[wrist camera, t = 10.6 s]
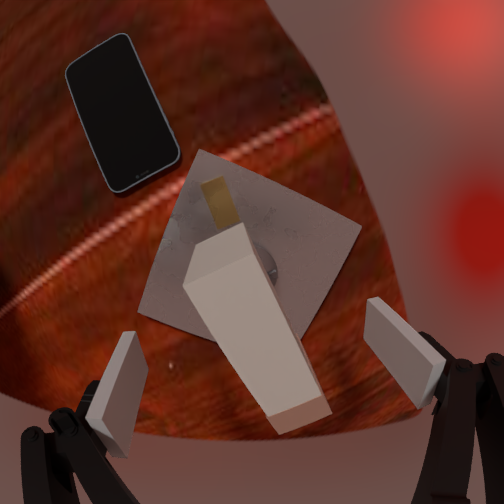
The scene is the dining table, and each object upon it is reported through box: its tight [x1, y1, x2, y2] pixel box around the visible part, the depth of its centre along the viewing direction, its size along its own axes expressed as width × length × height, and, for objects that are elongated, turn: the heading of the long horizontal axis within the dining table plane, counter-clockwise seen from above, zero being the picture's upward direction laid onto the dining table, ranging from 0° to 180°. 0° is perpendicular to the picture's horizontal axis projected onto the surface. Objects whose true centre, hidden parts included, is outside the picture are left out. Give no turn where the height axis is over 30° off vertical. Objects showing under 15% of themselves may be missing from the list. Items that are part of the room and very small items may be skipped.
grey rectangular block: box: [183, 222, 332, 435], centre depth 17 cm, size 11×3×8 cm, turn 24°
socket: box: [138, 149, 362, 342], centre depth 24 cm, size 16×16×6 cm
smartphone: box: [65, 33, 181, 193], centre depth 22 cm, size 7×1×15 cm
